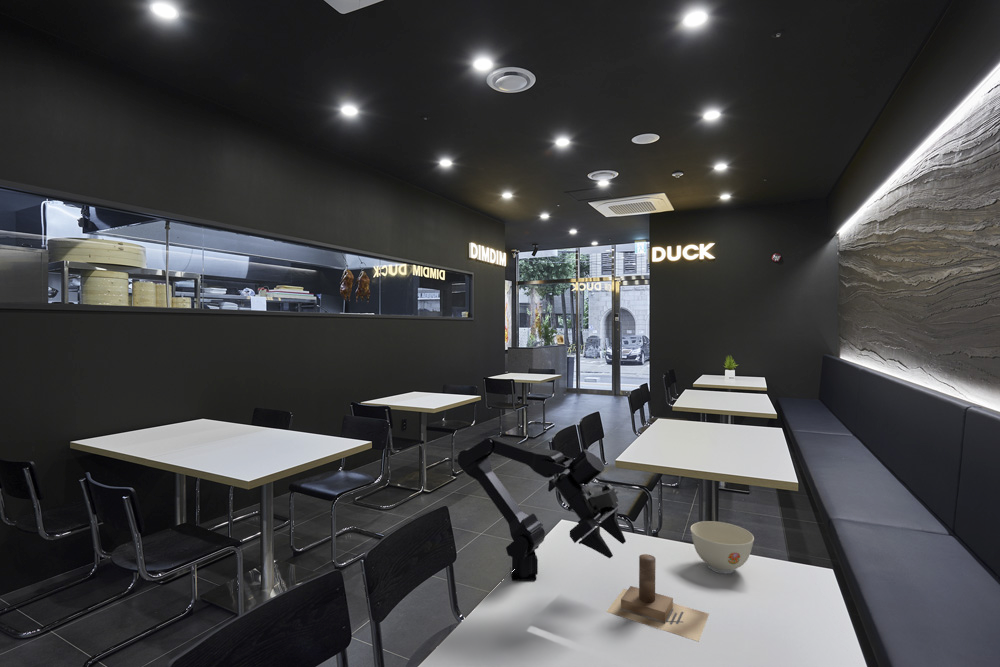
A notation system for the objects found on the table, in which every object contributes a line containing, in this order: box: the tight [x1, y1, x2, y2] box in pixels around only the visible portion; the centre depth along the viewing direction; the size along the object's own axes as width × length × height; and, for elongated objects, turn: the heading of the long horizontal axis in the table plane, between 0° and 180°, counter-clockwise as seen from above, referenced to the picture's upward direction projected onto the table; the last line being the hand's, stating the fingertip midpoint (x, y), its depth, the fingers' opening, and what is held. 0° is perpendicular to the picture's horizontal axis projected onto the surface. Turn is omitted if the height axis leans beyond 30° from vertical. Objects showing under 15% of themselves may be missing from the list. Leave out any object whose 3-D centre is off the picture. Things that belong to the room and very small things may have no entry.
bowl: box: [690, 520, 755, 575], centre depth 138 cm, size 16×16×10 cm
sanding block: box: [621, 553, 674, 624], centre depth 116 cm, size 10×7×12 cm
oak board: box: [606, 588, 710, 642], centre depth 114 cm, size 20×12×1 cm, turn 58°
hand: (618, 549), depth 119 cm, fingers open, 9 cm apart
